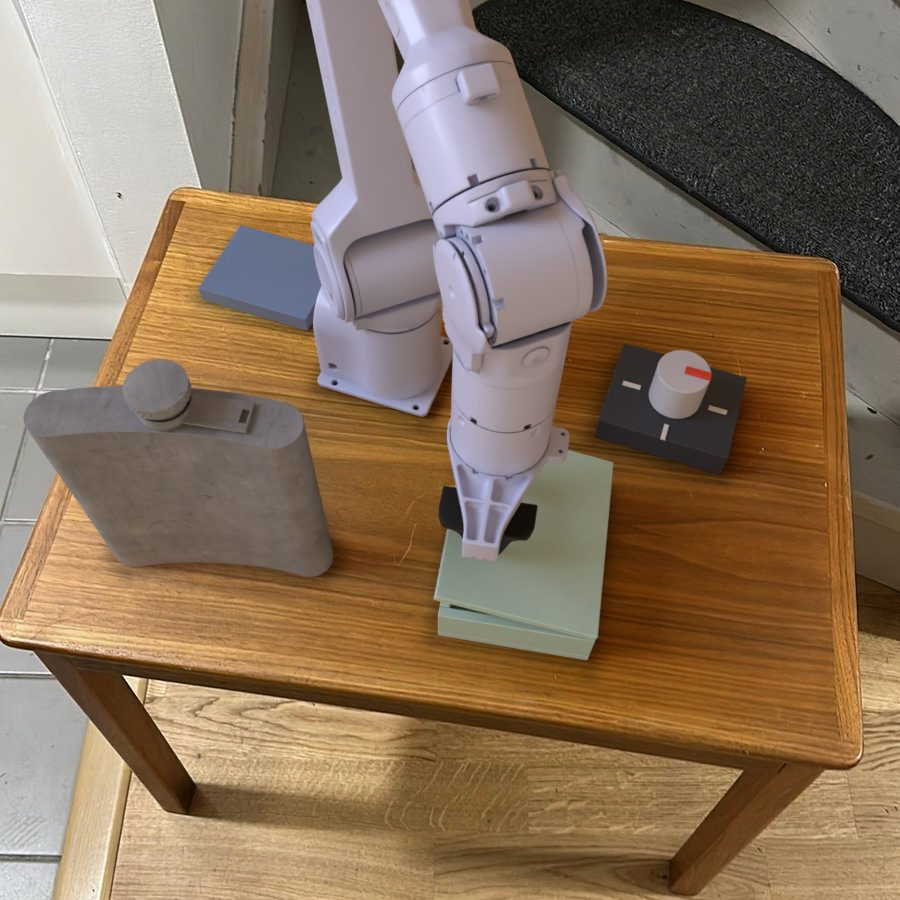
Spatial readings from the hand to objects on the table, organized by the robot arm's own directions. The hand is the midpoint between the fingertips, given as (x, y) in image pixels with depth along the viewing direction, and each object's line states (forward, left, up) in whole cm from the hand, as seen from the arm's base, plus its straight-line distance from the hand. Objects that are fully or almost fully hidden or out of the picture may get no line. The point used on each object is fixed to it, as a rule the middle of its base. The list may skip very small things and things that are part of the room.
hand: (491, 508), depth 61 cm
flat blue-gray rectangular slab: (-26, +18, -7) cm, 33 cm away
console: (+10, +16, -7) cm, 20 cm away
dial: (+10, +16, -5) cm, 20 cm away
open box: (+3, 0, -7) cm, 8 cm away
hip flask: (-18, -6, -7) cm, 20 cm away
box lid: (+2, +1, -2) cm, 3 cm away
